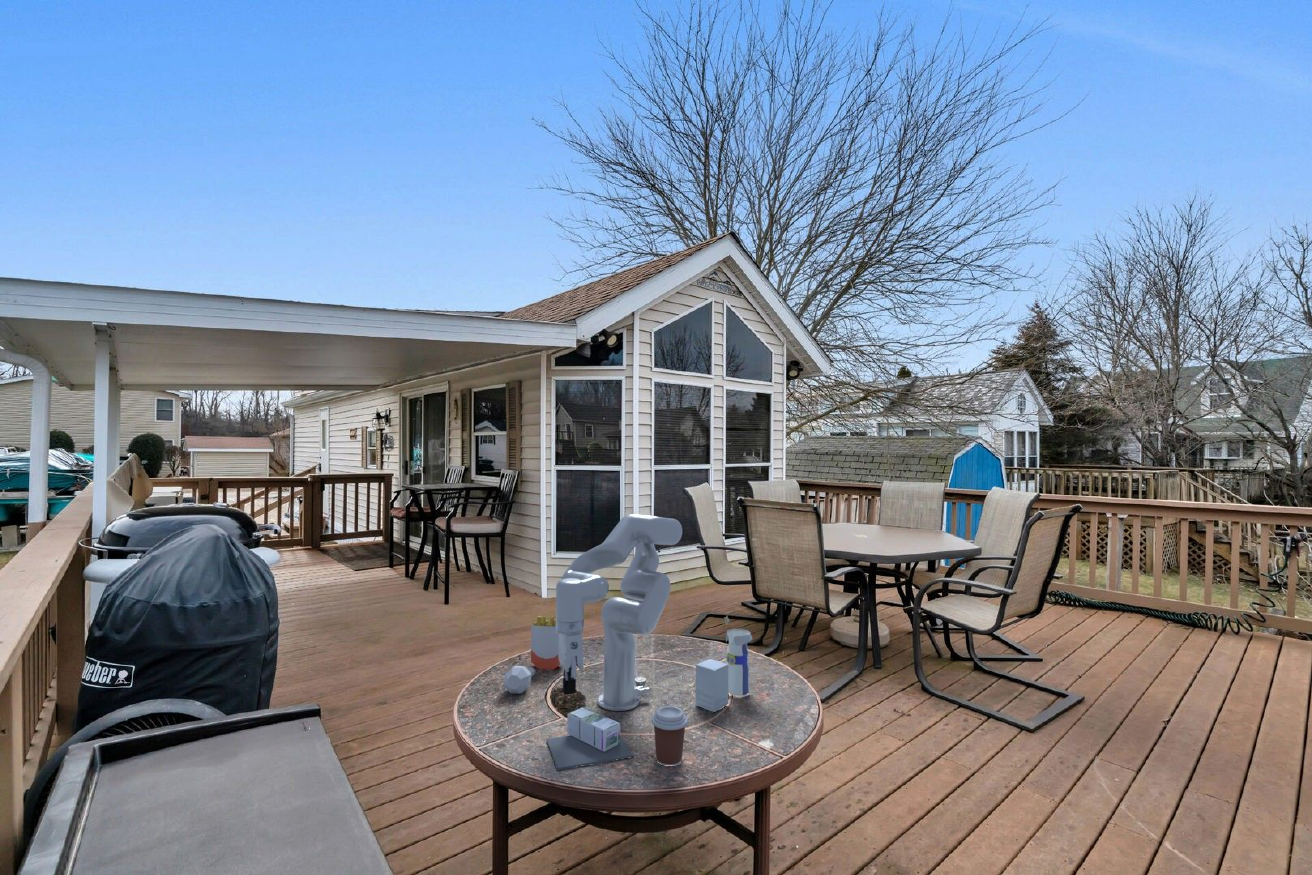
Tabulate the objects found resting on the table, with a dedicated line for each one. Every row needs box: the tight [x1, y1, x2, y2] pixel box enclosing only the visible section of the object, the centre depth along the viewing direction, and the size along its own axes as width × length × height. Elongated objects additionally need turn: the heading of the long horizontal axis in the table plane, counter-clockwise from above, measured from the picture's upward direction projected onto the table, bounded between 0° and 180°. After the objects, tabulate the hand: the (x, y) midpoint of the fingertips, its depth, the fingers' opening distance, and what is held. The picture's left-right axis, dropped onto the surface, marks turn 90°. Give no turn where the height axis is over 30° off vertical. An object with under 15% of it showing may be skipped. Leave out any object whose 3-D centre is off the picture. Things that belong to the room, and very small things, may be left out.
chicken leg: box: [503, 665, 536, 695], centre depth 193 cm, size 8×18×8 cm, turn 176°
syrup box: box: [566, 706, 621, 752], centre depth 157 cm, size 6×6×14 cm
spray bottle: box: [723, 615, 753, 695], centre depth 191 cm, size 8×9×25 cm
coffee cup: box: [651, 705, 689, 765], centre depth 149 cm, size 9×9×12 cm
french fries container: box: [530, 615, 561, 670], centre depth 210 cm, size 5×11×18 cm, turn 85°
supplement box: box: [695, 658, 729, 711], centre depth 181 cm, size 7×7×13 cm
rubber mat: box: [546, 734, 634, 771], centre depth 153 cm, size 19×15×1 cm
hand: (569, 692), depth 162 cm, fingers closed
